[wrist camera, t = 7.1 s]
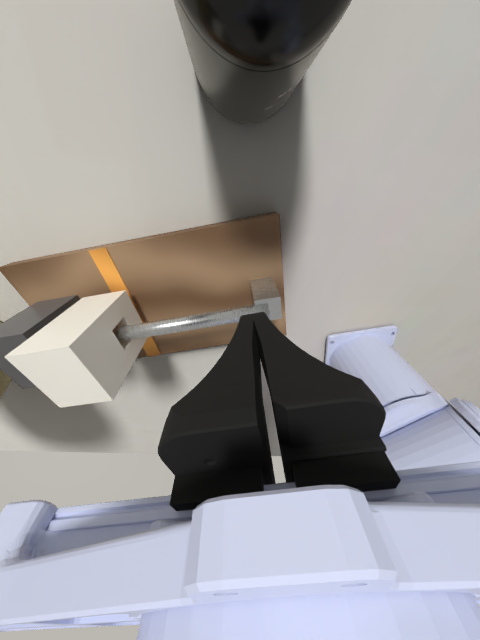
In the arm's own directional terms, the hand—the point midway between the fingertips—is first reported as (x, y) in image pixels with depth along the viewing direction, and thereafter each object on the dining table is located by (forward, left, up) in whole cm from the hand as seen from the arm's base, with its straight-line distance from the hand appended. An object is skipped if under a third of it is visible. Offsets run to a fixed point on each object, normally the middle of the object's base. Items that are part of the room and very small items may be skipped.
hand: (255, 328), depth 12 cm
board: (-2, +9, -10) cm, 13 cm away
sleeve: (-2, +13, -7) cm, 15 cm away
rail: (-2, +8, -8) cm, 11 cm away
